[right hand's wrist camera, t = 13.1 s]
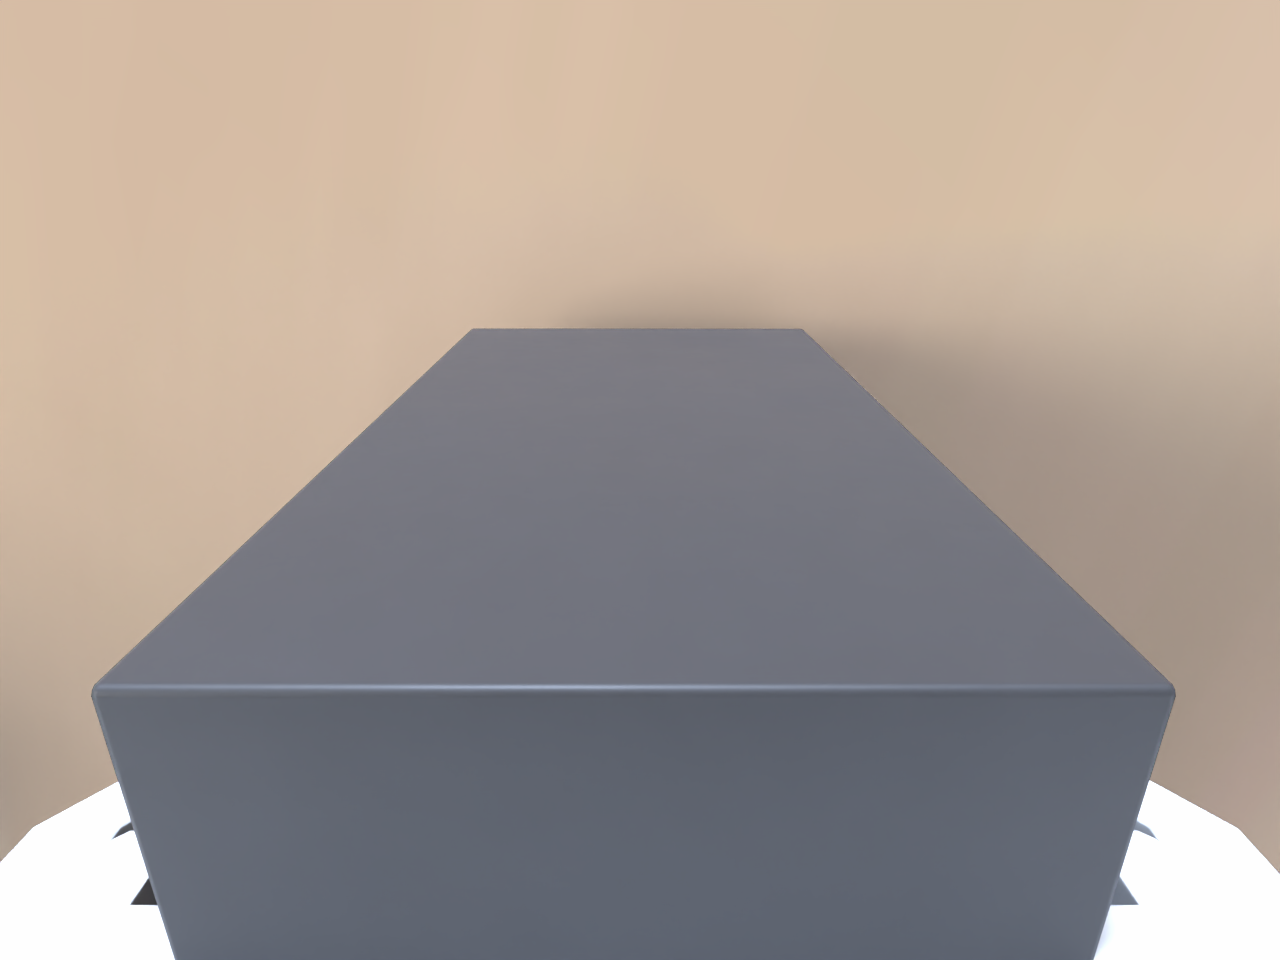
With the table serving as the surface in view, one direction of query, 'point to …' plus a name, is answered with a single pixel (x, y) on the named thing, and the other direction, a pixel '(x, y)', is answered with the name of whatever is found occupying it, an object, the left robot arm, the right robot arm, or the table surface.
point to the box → (634, 685)
